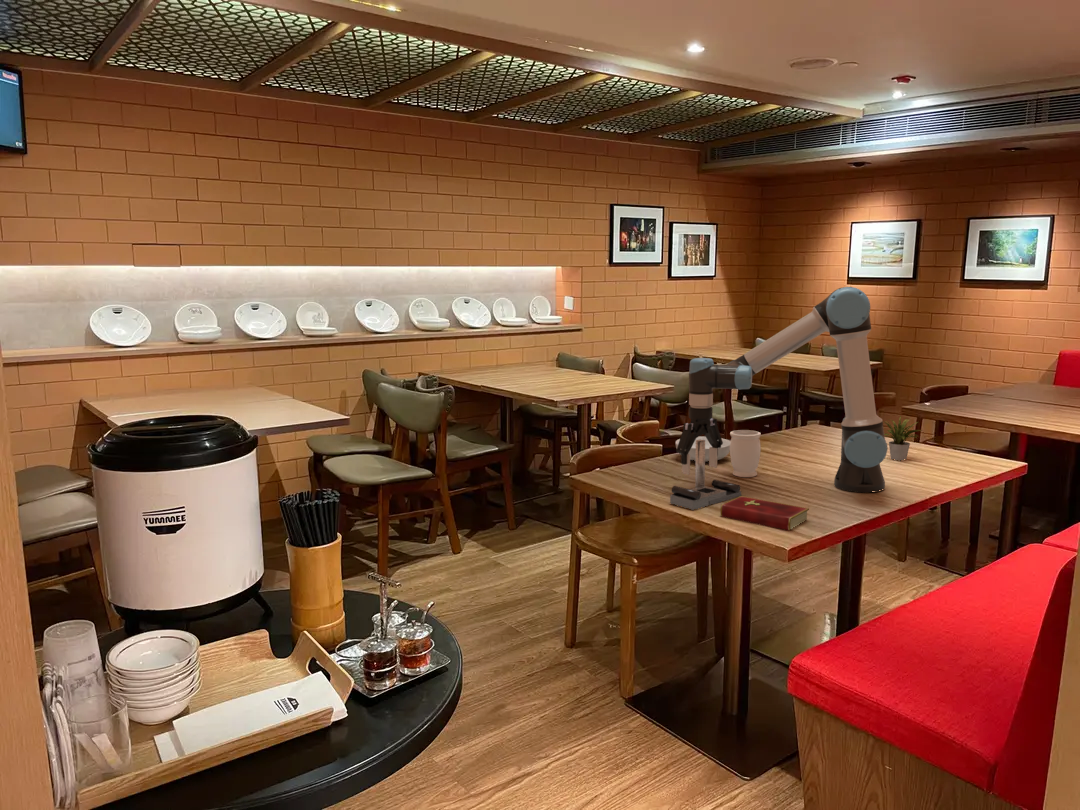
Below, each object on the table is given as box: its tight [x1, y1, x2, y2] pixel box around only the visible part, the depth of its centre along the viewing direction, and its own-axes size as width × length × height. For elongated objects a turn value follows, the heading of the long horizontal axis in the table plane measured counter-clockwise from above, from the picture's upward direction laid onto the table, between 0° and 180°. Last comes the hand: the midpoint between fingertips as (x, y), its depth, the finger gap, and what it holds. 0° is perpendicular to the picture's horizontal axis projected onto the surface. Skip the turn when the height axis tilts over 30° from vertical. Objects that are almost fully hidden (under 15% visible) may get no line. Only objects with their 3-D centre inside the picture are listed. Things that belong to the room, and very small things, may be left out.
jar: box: [729, 429, 762, 478], centre depth 265 cm, size 11×10×15 cm
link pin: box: [694, 440, 706, 488], centre depth 249 cm, size 3×3×16 cm
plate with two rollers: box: [669, 479, 742, 511], centre depth 237 cm, size 9×23×5 cm, turn 128°
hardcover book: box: [719, 495, 810, 531], centre depth 217 cm, size 12×21×4 cm, turn 47°
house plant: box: [884, 415, 924, 461], centre depth 281 cm, size 14×14×16 cm
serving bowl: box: [675, 436, 731, 463], centre depth 290 cm, size 21×21×7 cm
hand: (699, 470), depth 249 cm, fingers open, 13 cm apart
